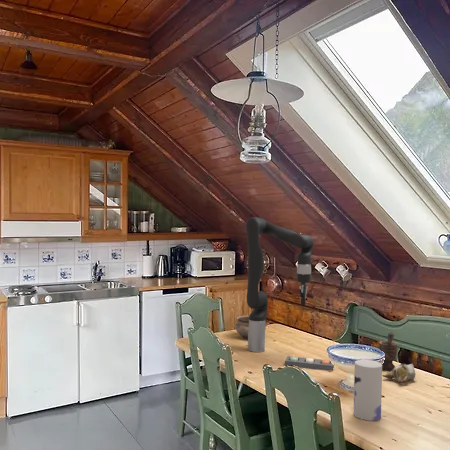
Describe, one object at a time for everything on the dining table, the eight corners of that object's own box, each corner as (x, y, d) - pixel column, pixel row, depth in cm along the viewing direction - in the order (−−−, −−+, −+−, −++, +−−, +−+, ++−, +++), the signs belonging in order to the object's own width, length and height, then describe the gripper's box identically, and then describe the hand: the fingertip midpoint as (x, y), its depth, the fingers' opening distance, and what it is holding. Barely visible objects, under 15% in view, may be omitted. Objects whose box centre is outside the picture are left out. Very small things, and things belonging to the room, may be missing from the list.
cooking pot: (236, 342, 283) (237, 322, 283) (226, 335, 301) (226, 316, 301) (274, 340, 292) (275, 320, 291) (262, 333, 309) (262, 314, 309)
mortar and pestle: (403, 372, 232) (404, 332, 232) (387, 373, 231) (388, 332, 231) (390, 365, 244) (391, 327, 244) (375, 366, 242) (376, 327, 242)
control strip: (284, 365, 240) (284, 360, 240) (287, 360, 248) (287, 356, 248) (333, 370, 233) (333, 365, 233) (334, 365, 242) (334, 360, 242)
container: (349, 410, 184) (350, 359, 184) (374, 410, 185) (375, 359, 185) (359, 421, 174) (360, 367, 174) (385, 420, 175) (386, 367, 175)
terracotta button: (321, 366, 237) (321, 361, 237) (321, 364, 241) (321, 359, 241) (329, 367, 236) (329, 362, 236) (329, 365, 240) (329, 360, 240)
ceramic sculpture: (422, 363, 219) (399, 369, 212) (422, 381, 219) (400, 388, 212) (403, 357, 228) (381, 363, 221) (403, 375, 229) (381, 381, 221)
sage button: (289, 363, 241) (289, 358, 241) (290, 361, 245) (290, 356, 245) (297, 364, 240) (297, 359, 240) (298, 362, 244) (298, 356, 244)
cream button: (305, 365, 239) (305, 359, 239) (306, 362, 243) (306, 357, 243) (313, 365, 238) (313, 360, 238) (313, 363, 242) (314, 358, 242)
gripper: (298, 271, 258) (297, 302, 258) (295, 273, 245) (294, 306, 245) (312, 271, 256) (311, 303, 256) (309, 274, 243) (308, 307, 243)
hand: (303, 305), depth 251 cm, fingers closed
